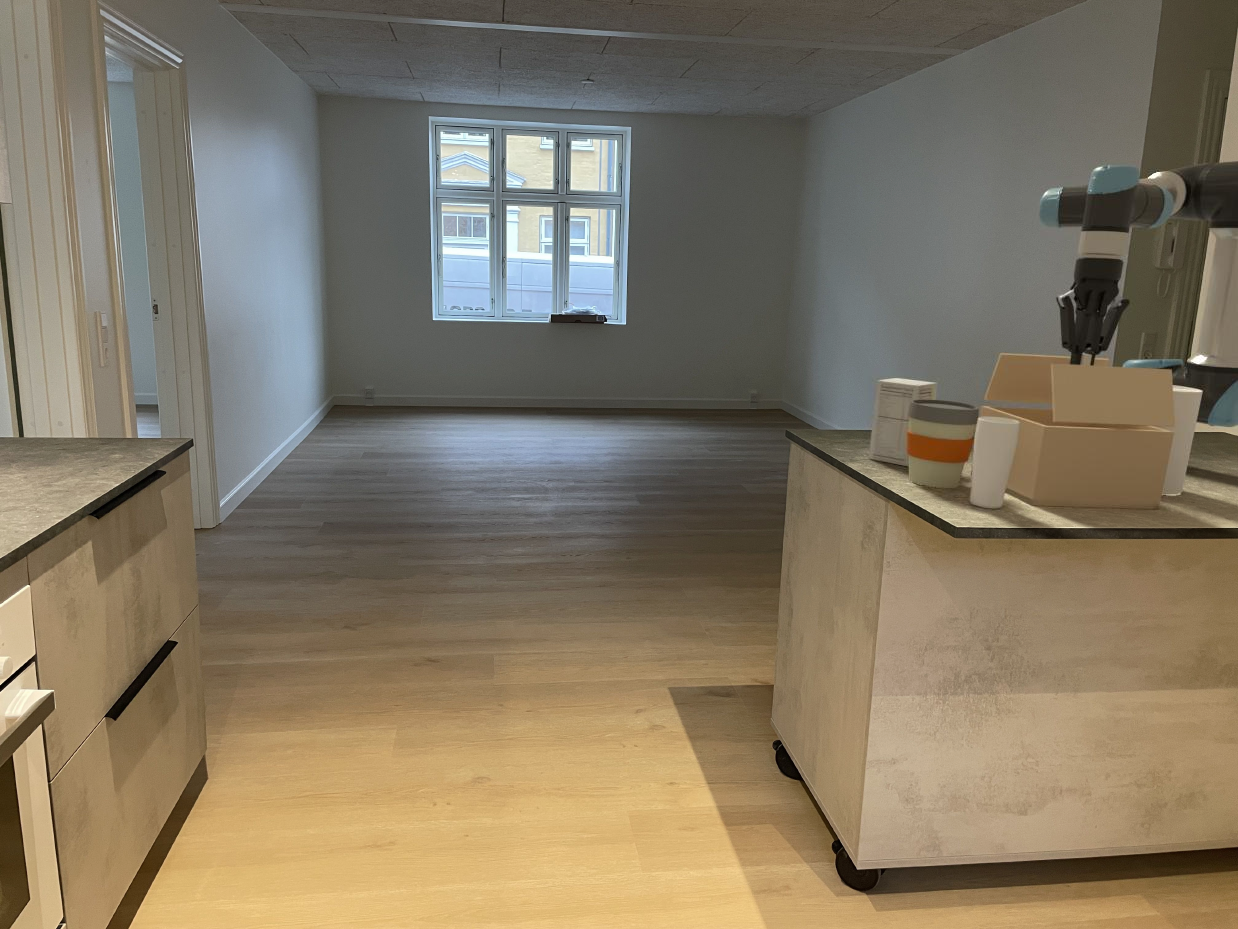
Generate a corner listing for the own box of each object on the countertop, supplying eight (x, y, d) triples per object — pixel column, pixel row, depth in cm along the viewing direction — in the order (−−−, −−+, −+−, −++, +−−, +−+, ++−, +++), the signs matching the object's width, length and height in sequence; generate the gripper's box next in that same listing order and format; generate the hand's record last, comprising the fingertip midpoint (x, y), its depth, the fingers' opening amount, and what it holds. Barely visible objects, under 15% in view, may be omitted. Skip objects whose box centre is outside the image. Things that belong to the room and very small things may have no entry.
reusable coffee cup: (884, 476, 170) (894, 399, 167) (930, 472, 176) (940, 398, 173) (936, 492, 160) (948, 410, 156) (983, 488, 166) (995, 408, 162)
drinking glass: (957, 499, 156) (970, 415, 152) (994, 500, 156) (1007, 417, 153) (976, 510, 149) (989, 422, 146) (1014, 511, 150) (1028, 424, 146)
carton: (1083, 479, 179) (1095, 411, 176) (1158, 509, 157) (1174, 432, 154) (970, 475, 176) (981, 405, 173) (1031, 505, 155) (1044, 426, 152)
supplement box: (929, 462, 187) (940, 382, 183) (909, 467, 180) (920, 385, 176) (887, 453, 193) (896, 376, 189) (866, 458, 186) (876, 379, 183)
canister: (1183, 500, 166) (1205, 394, 161) (1102, 487, 172) (1121, 385, 168) (1179, 486, 177) (1199, 387, 173) (1103, 475, 184) (1121, 379, 179)
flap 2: (1169, 370, 155) (1171, 369, 154) (1172, 426, 153) (1175, 426, 153) (1050, 364, 152) (1052, 363, 152) (1053, 421, 151) (1055, 421, 150)
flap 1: (1090, 405, 176) (1088, 403, 176) (1109, 359, 170) (1108, 358, 171) (985, 400, 173) (983, 399, 174) (1001, 354, 168) (1000, 352, 168)
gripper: (1120, 259, 161) (1097, 388, 167) (1053, 255, 160) (1032, 384, 165) (1148, 259, 154) (1123, 393, 159) (1078, 255, 153) (1055, 390, 158)
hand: (1077, 389), depth 162 cm, fingers closed
